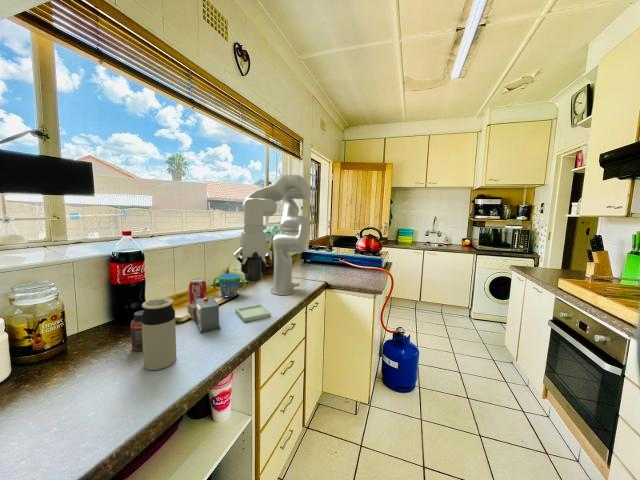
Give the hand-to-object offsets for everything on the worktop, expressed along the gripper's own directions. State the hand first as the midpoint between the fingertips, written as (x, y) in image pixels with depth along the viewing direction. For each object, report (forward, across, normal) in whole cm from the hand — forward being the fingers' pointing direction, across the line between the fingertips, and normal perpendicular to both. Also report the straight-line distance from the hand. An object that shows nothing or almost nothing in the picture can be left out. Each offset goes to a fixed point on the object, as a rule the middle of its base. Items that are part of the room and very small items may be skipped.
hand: (253, 271), depth 106 cm
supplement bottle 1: (+19, +38, +7) cm, 43 cm away
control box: (+18, +18, +1) cm, 26 cm away
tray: (+18, 0, 0) cm, 18 cm away
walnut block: (+19, +20, -9) cm, 29 cm away
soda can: (+19, +18, -20) cm, 33 cm away
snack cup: (+19, +2, -28) cm, 33 cm away
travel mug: (+19, +34, +19) cm, 43 cm away
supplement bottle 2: (+4, 0, 0) cm, 4 cm away
